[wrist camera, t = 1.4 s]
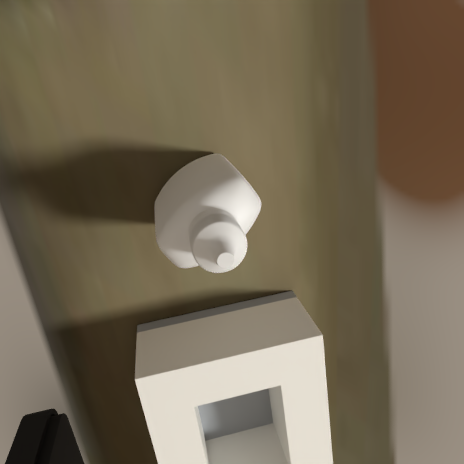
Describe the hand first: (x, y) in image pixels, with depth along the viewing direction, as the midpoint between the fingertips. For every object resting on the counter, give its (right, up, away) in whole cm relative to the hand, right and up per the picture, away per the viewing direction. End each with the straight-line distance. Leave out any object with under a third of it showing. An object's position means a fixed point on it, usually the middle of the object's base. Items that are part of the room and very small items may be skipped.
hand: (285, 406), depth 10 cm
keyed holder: (-1, -8, +24) cm, 26 cm away
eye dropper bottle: (-4, +7, +19) cm, 20 cm away
